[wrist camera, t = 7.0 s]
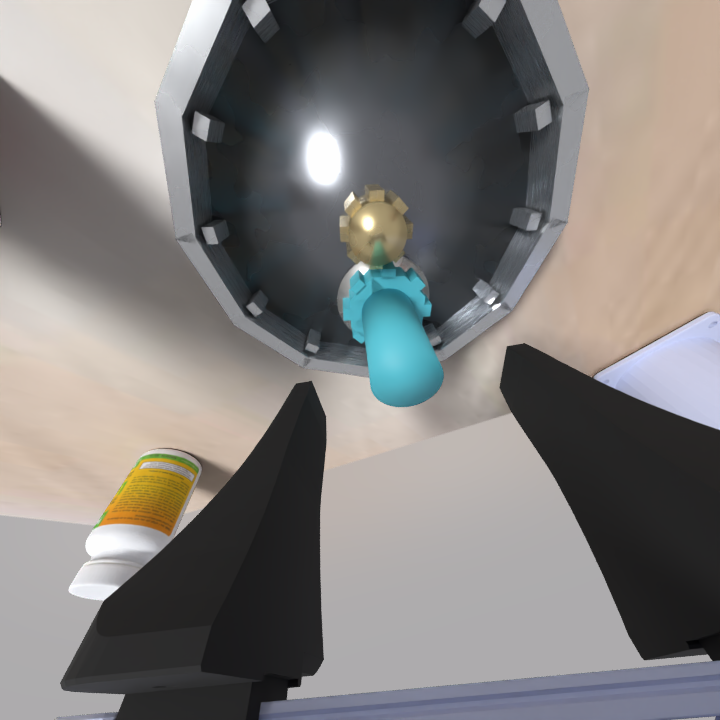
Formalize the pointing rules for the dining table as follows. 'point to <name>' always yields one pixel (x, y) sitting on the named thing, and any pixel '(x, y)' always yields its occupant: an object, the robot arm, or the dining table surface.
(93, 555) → the supplement bottle
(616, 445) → the robot arm
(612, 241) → the dining table surface
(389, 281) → the gear
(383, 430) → the dining table surface
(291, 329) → the bowl
